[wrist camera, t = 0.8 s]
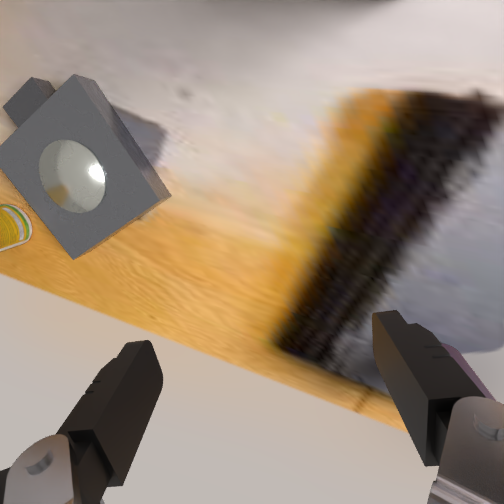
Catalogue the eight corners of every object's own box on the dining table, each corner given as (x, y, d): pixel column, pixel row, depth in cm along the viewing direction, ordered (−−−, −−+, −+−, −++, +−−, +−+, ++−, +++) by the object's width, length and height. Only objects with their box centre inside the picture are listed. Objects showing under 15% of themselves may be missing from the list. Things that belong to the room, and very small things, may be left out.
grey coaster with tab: (-3, 133, 35) (-33, 132, 32) (76, 53, 30) (51, 43, 27) (89, 252, 38) (70, 261, 35) (171, 196, 34) (158, 201, 31)
